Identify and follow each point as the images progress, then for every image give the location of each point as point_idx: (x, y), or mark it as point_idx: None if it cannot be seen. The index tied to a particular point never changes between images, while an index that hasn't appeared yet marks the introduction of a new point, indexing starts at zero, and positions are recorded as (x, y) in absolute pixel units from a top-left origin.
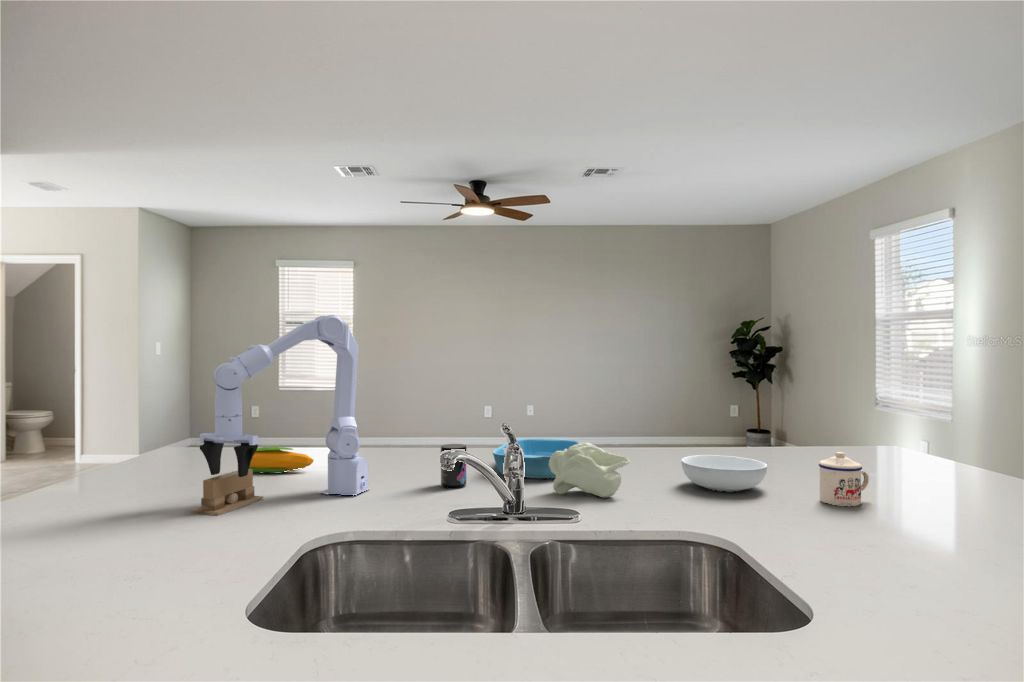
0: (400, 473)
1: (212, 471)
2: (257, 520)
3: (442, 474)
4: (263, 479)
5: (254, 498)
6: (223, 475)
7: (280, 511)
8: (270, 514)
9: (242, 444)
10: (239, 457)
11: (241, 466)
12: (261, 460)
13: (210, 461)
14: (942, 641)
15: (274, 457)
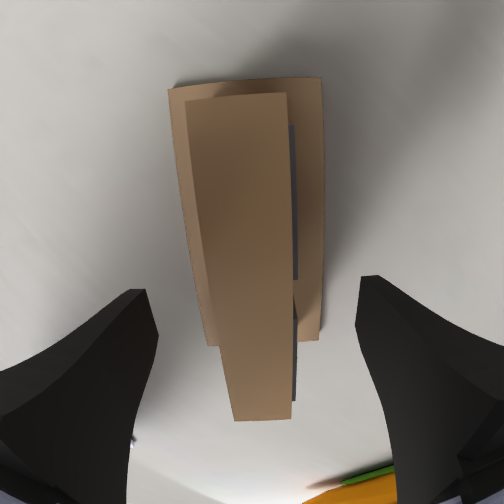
0: (136, 495)
1: (370, 284)
2: (10, 122)
3: None
4: (367, 448)
5: (211, 316)
6: (268, 280)
7: (31, 234)
8: (26, 193)
9: (27, 487)
10: (43, 362)
11: (83, 324)
12: None
13: (408, 323)
14: None
15: (373, 500)
